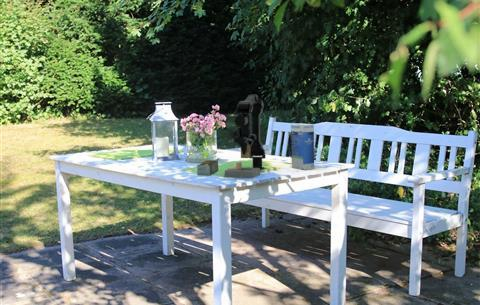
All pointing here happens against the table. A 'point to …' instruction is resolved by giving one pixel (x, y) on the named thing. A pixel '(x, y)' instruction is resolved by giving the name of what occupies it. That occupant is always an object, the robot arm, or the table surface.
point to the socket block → (243, 173)
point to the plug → (246, 152)
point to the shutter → (238, 166)
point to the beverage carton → (207, 168)
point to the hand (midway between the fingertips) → (245, 154)
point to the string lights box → (302, 146)
